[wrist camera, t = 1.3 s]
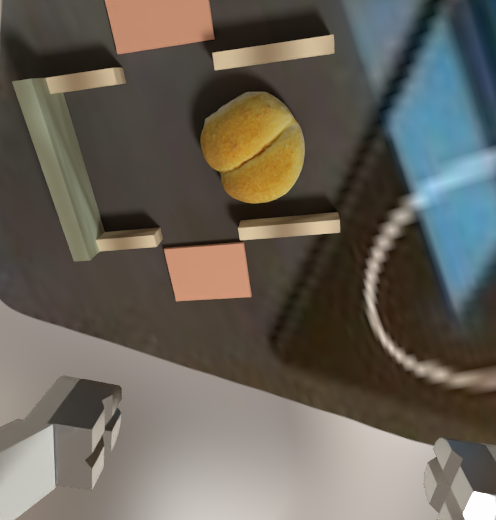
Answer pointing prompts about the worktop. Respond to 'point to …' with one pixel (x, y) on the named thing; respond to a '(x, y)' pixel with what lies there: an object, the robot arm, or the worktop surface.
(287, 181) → the bread roll
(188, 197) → the worktop surface
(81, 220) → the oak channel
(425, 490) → the robot arm
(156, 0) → the trap pads
